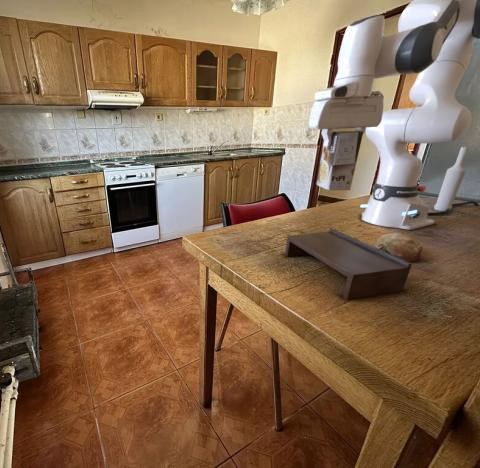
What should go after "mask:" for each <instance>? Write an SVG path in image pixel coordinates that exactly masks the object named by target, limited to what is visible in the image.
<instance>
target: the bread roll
mask: <svg viewBox="0 0 480 468" xmlns="http://www.w3.org/2000/svg"><path fill="white" fill-rule="evenodd" d="M374 247H375V248H378V249H380V250H382V251H385V252H387V253H389V254H391V255H394V256H396V257H398V258H401V259H403V260H405V261H407V262H410V263H412V262H416V261H418V259H419V258H420V256H421V254H422V252H423V246H422V244H421V243H420V241H418V239H416V238H415V237H414V236H412V235H410V234H408V233H404V232H402V233H401V232H392V233H385V234H383V235H380V236H379V237H378V238H377V239H376V241H375V245H374Z"/></svg>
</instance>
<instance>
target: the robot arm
mask: <svg viewBox="0 0 480 468" xmlns="http://www.w3.org/2000/svg"><path fill="white" fill-rule="evenodd" d="M384 31H385V15H383V14H374V15H370V16H367V17H363V18H361V19H358V20H356V21H354V22H352V23H350V24H349V25H347V27H346V29H345V32H344V34H343V37H342V41H341V45H340V49H339V53H338V58H337V73H336V75H335V78H334V82H333V85H332V86H330V87H327V88H325V89H322V90H319V91H317V92H316V93H314V101H315V102H314V103H313V105H312V107H311V110H310V114H309V120H308V127H309V129H310V130H313V131H315V130H317V131H318V130H321V136H322V139H323V143H324V146H332V143H333V140H331V138H330V134H329V133H332V132H333V130H336V129H354V131H363V135H364V134H365V136H366V138H367V140H369V142H371V143H372V144H373V145H374V146H375V148H376V149H377V152H378V154H379V161H380V162H379V169H378V175H377V179H376V181H375V182H374V184H373V186H372V191H371V192H372V195H371V196H370V197H369V199H368V201H367V203H366V204H360V208H365V209H364V211H363V212H361V220H362V221H363V222H366V223H368V224H372V225H376V226H380V227H385V228H394V229H403V230H407V231H411V230H417V229H419V228H420V229H421V228H423V227H427V226H431V225H434V224H435V222H436V221H435V220H434V219H432V218H429V217H428V216H437V215H446V214H448V213H449V212H450V211H451V210H450V209H446V211H438V212H437V211H436V212H435V211H434V212H429V210H430V209H429V205H427V204H426V203H425V202H424V201H423V200H422V199H421V197H419V192H420V193H424V192H425V191H426V186H425V185H418V183H419V179H420V176H421V172H422V170H423V167H424V165H423V161H422V160H421V159H420V158H419V157H418V156H416V155H415V154H412V153H410V152H409V151H408V149H407V144H441V143H446V142H453V141H455V140H457V139H459V138H460V137H462V136H463V135H465V133H467V131H468V129H469V128H470V126H471V124H472V119H473V117H472V113H471V111H470V109H469V108H468V107H467V106H465V105H462V104H461V103H459V101H458V100H457V99H456V93H457V92H456V91H457V89H458V87H459V84H460V82H461V80H462V78H463V77H464V75H465V73H466V71H467V69H468V67H469V64H470V61H471V59H472V56H473V51H474V40H475V39H477V40H479V39H480V0H412V1H410V2H409V3H408V5H406V7H405V8H404V10H403V11H402V13H401V14H400V15H399V18H398V22H397V31H398V32H396V33H392V34H388V35H386V34H384ZM412 74H417V76H416V79H415V80H414V82H413V84H412V86H411V88H410V90H409V93H408V98H409V100H410V101H411V103H412V104H414V105H415V106H416V107H406V108H394V109H388V110H384V99H385V96H384V95H383V93H382V91H380V90H375V91H373V86H374V80H377V79H384V78H390V77H395V76H400V75H412ZM465 205H474V206H477V207H478V206H480V205H479V203H478V202H477V201H475V200H474V201H471V200H470V201H464V202H459V203H453V204H452V207H459V206H465ZM449 210H450V211H449Z"/></svg>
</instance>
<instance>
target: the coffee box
mask: <svg viewBox="0 0 480 468" xmlns="http://www.w3.org/2000/svg"><path fill="white" fill-rule="evenodd" d="M329 134H330V138H331V140H333V143H332V146H324V142H323V144H322V150H321V155H320V160H319V167H318V173H317V178H316V183H315V184H316V186H318V187H320V188H323V189H325V190H326V191H351V188H352V183H353V179H354V176H355V175H354V174H355V171H356V166H357V162H358V158H359V157H358V156H359V154H360V149H361V143H362V140H363V135H364V134H363V131H355V130H354V131H353V130H351V131H350V130H349V131H348V130H347V131H345V130H344V131H343V130H342V131H332V133H329Z"/></svg>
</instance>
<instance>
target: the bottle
mask: <svg viewBox="0 0 480 468" xmlns="http://www.w3.org/2000/svg"><path fill="white" fill-rule="evenodd" d="M469 149H470V147H469V146H461V147H460V150H459V152H458V155H457V158H456V161H455V163H454V164H453V166H451V167H449V168H447V169H446V172H445V176H444V179H443V181H442V185H441V188H440V190H439V194H438V197H437V199H436V200H437V201H436V202H435V204H434V205H433V210H435V211H438V212H444V211H446V209H450V210H449V212H450V211H451V210H452V209H453V206H452V204H454V201H455V199H456V196H457V194H458V192H459V189H460V186H461V184H462V181H463V179H464V177H465V175H466V173H467V169H466V168H465V167H464V161H465V159H466V156H467V153H468V152H469Z"/></svg>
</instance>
